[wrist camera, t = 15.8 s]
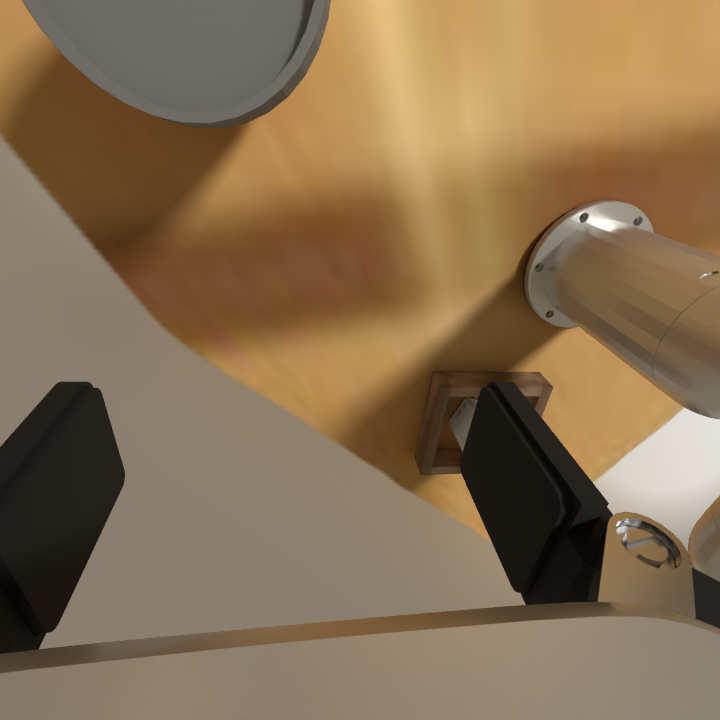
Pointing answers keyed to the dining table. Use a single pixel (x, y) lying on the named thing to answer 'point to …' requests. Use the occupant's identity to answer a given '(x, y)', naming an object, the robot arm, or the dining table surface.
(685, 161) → the dining table surface
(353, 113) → the dining table surface
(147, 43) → the reusable coffee cup
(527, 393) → the socket
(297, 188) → the dining table surface
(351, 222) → the dining table surface
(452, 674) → the robot arm
